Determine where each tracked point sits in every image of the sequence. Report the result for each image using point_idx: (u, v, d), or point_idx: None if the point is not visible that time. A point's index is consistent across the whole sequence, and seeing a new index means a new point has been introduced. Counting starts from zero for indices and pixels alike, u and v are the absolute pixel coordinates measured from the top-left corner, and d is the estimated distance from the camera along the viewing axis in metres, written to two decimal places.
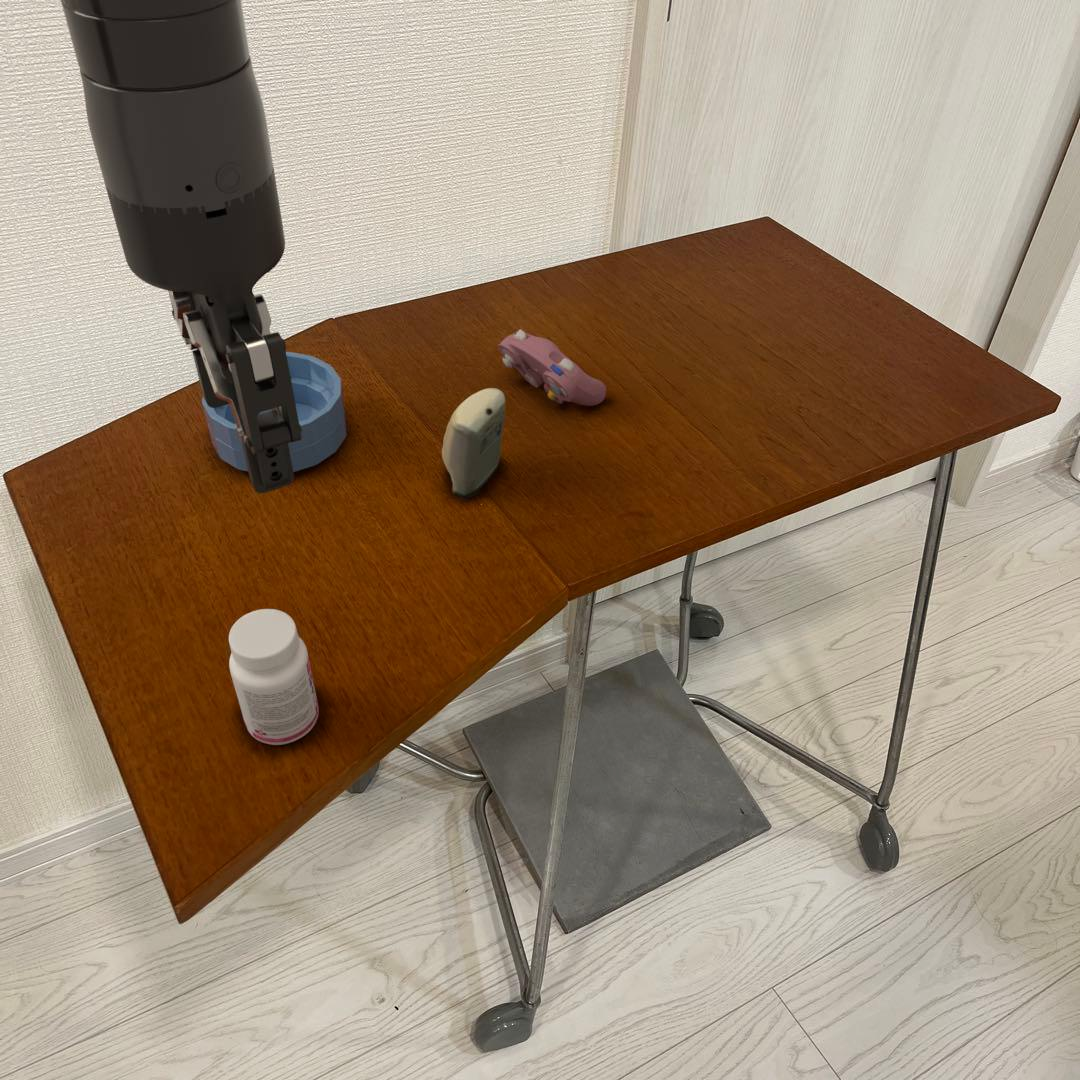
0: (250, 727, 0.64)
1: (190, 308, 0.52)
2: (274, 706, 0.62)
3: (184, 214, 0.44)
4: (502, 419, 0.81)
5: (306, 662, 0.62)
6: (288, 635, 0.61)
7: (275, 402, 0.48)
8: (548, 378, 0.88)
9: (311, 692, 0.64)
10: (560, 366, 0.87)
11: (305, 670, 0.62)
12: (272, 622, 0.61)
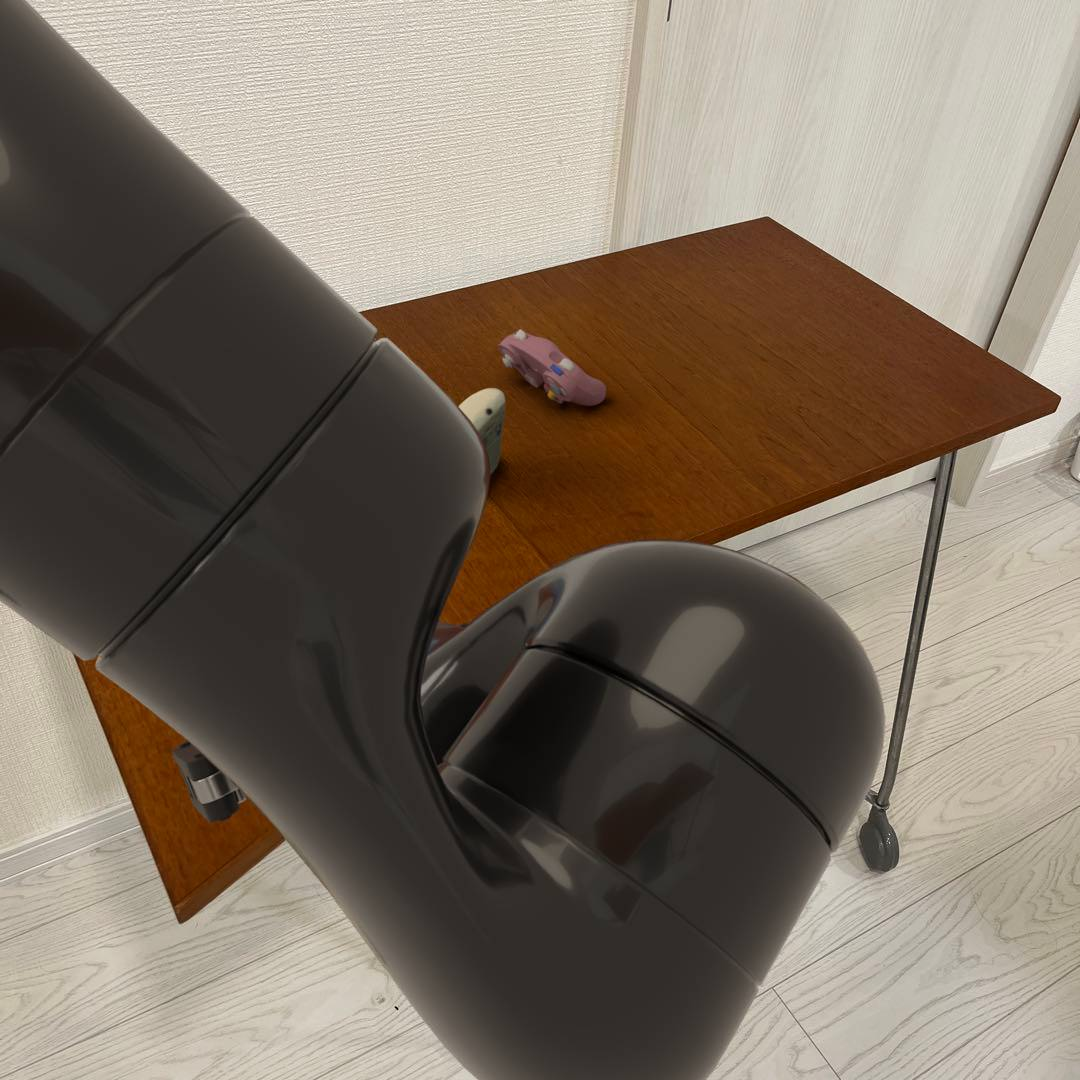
0: None
1: None
2: None
3: None
4: (502, 419, 0.81)
5: None
6: None
7: (191, 791, 0.40)
8: (548, 378, 0.88)
9: None
10: (560, 366, 0.87)
11: None
12: None
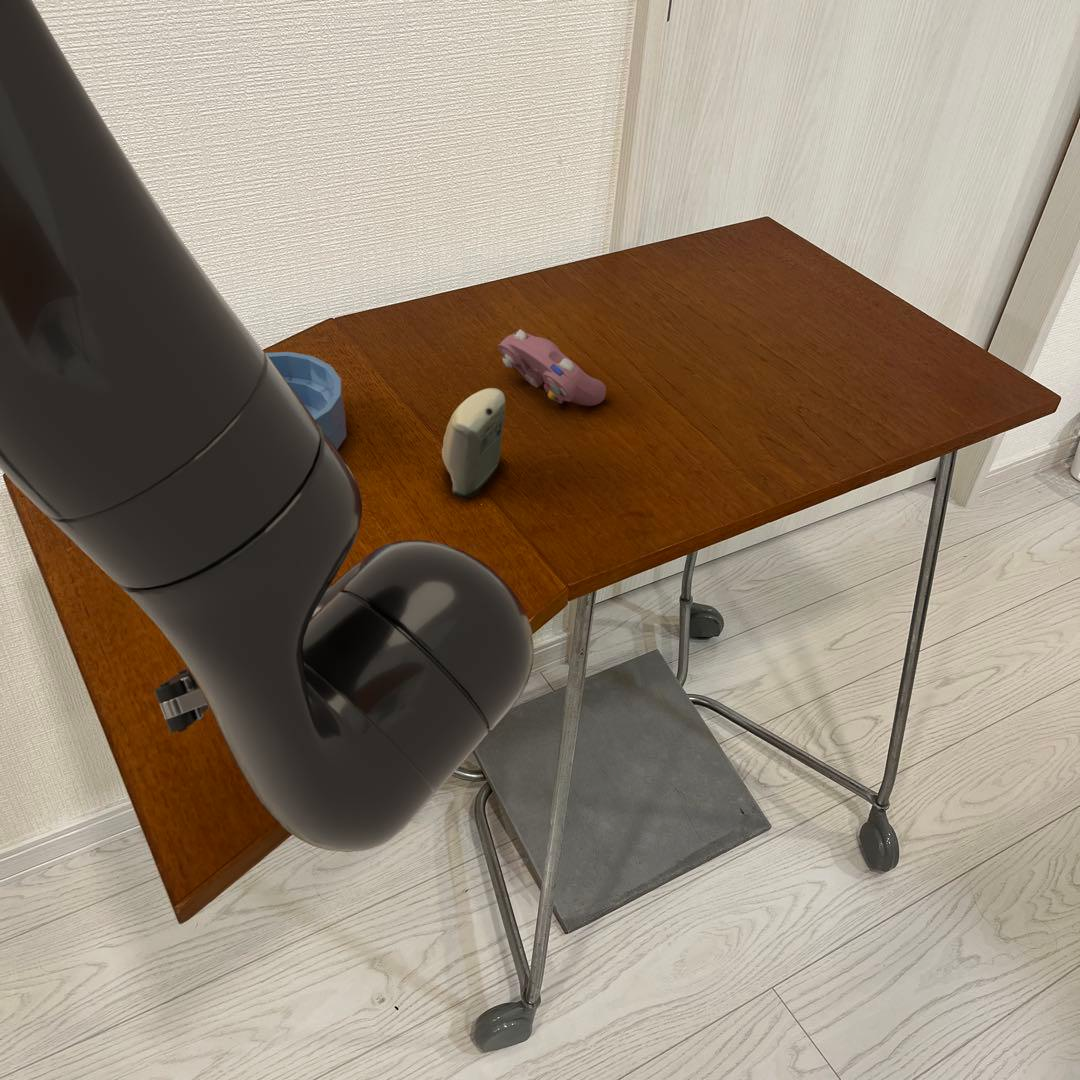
0: None
1: None
2: None
3: None
4: (502, 419, 0.81)
5: None
6: None
7: None
8: (548, 378, 0.88)
9: None
10: (560, 366, 0.87)
11: None
12: None
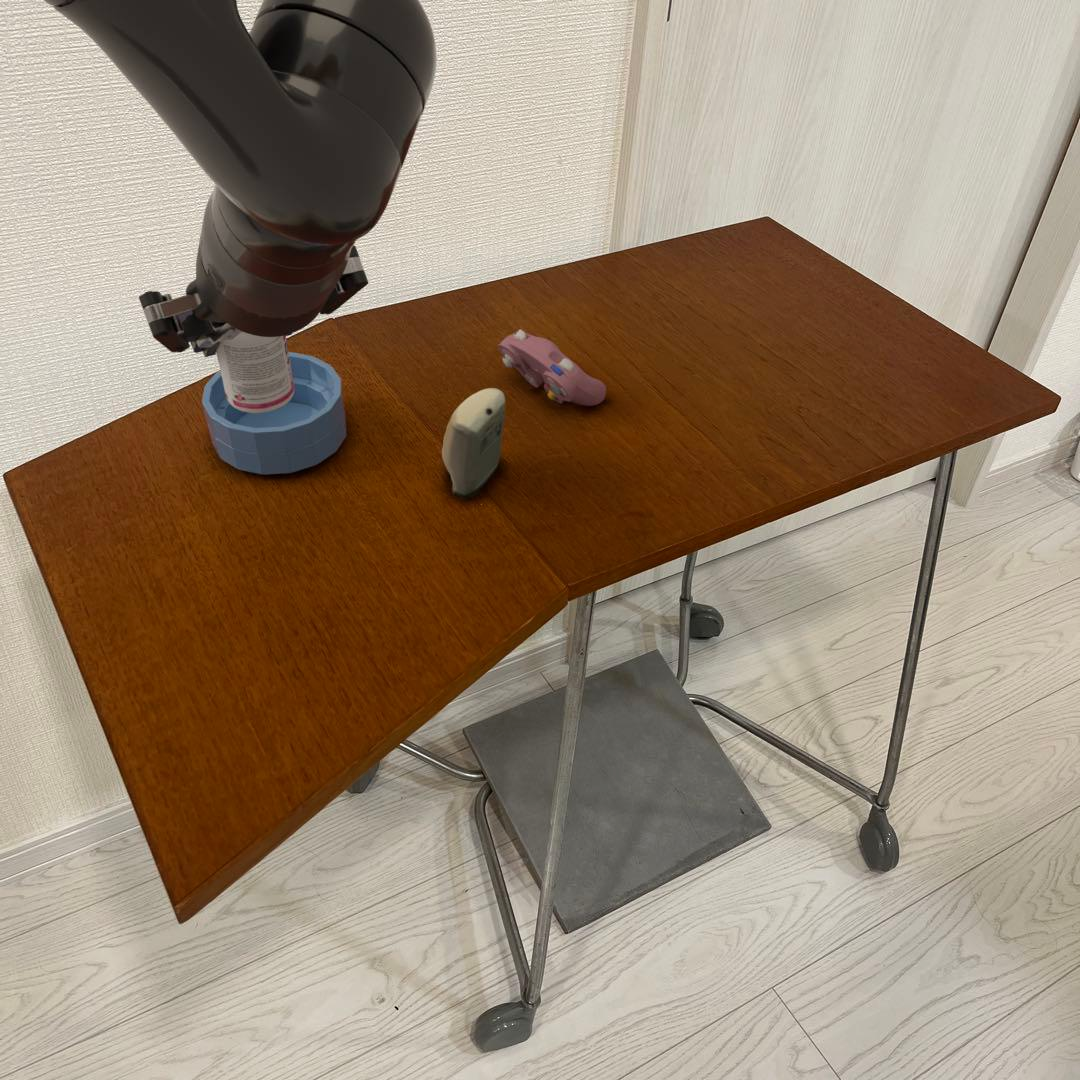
0: (230, 394, 0.70)
1: None
2: (252, 363, 0.67)
3: None
4: (502, 419, 0.81)
5: None
6: None
7: None
8: (548, 378, 0.88)
9: (286, 361, 0.70)
10: (560, 366, 0.87)
11: None
12: None
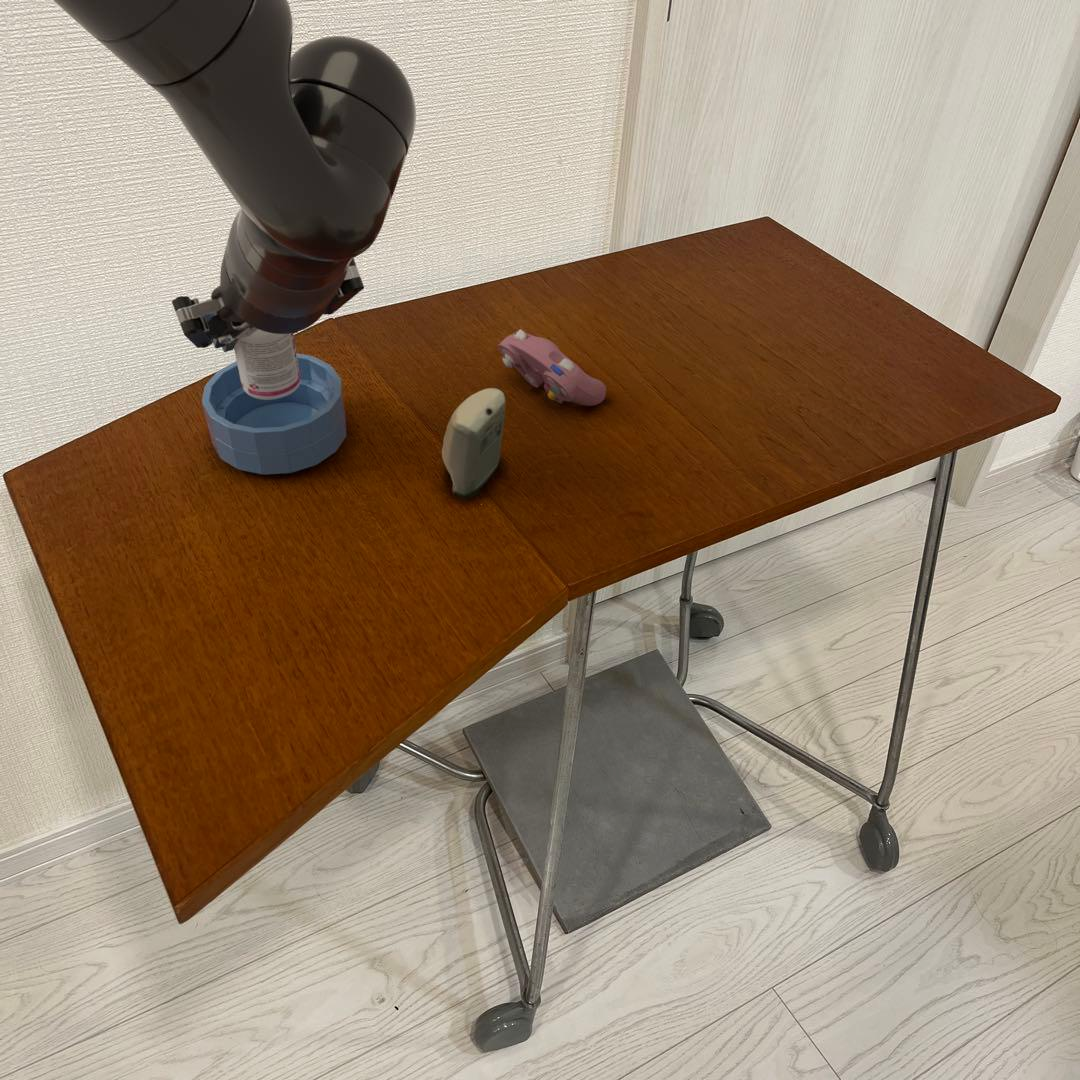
0: (246, 384, 0.81)
1: None
2: (265, 357, 0.79)
3: (225, 256, 0.65)
4: (502, 419, 0.81)
5: None
6: None
7: None
8: (548, 378, 0.88)
9: (294, 355, 0.81)
10: (560, 366, 0.87)
11: None
12: None
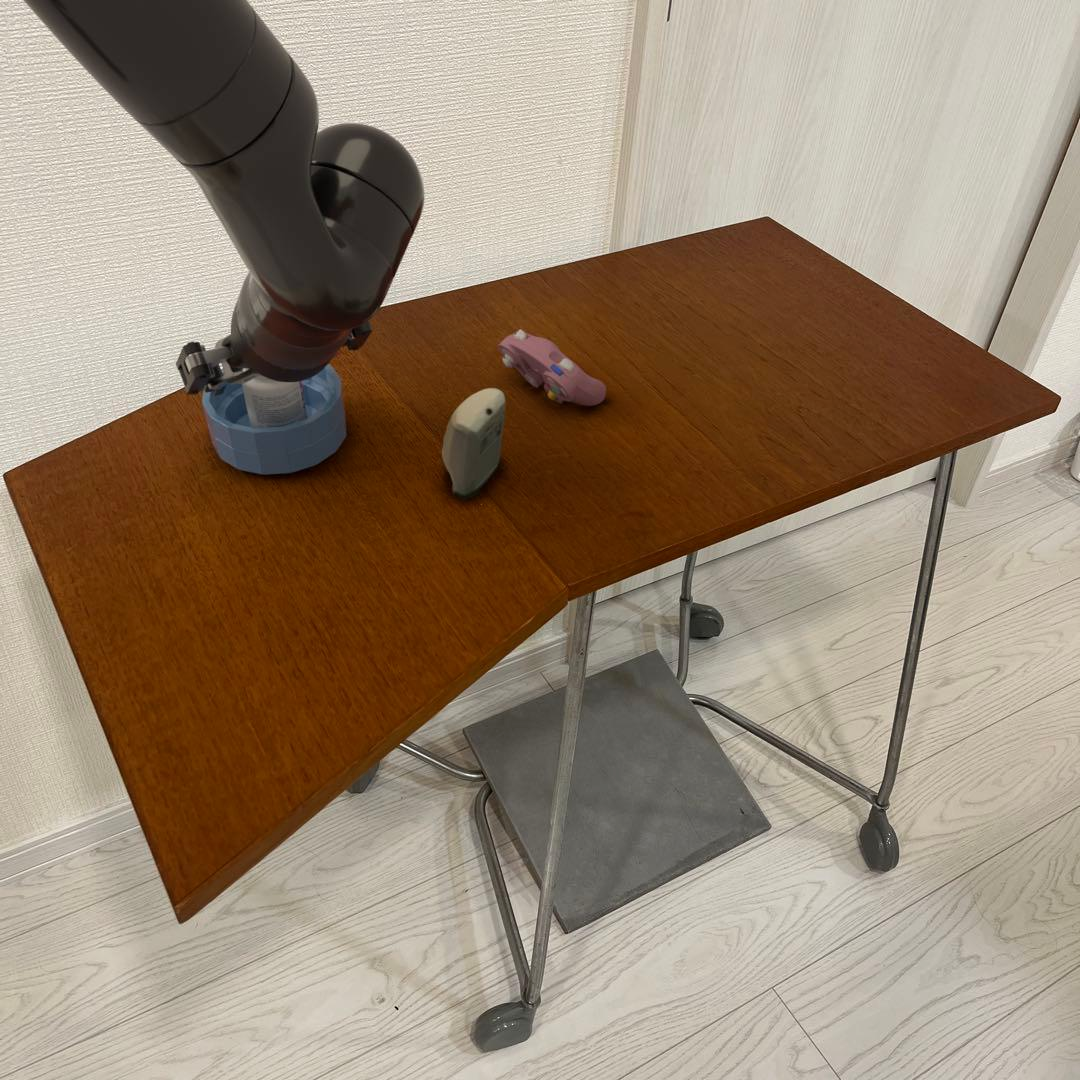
0: None
1: None
2: (275, 409, 0.82)
3: (236, 311, 0.68)
4: (502, 419, 0.81)
5: None
6: None
7: (185, 375, 0.74)
8: (548, 378, 0.88)
9: (303, 406, 0.84)
10: (560, 366, 0.87)
11: (298, 383, 0.83)
12: None
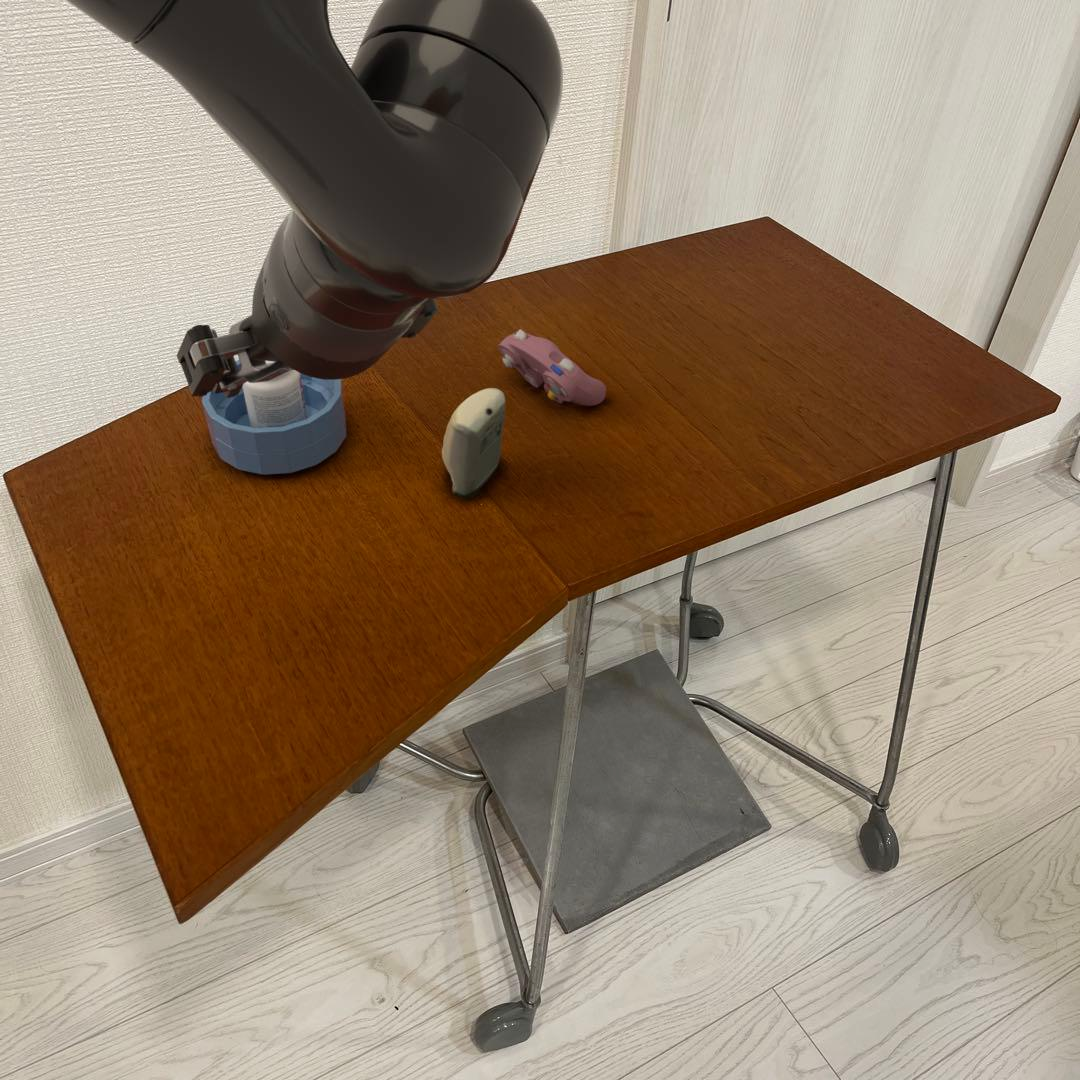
0: None
1: None
2: (275, 409, 0.82)
3: (262, 280, 0.49)
4: (502, 419, 0.81)
5: (299, 377, 0.83)
6: None
7: (190, 370, 0.55)
8: (548, 378, 0.88)
9: (303, 406, 0.84)
10: (560, 366, 0.87)
11: (298, 383, 0.83)
12: None
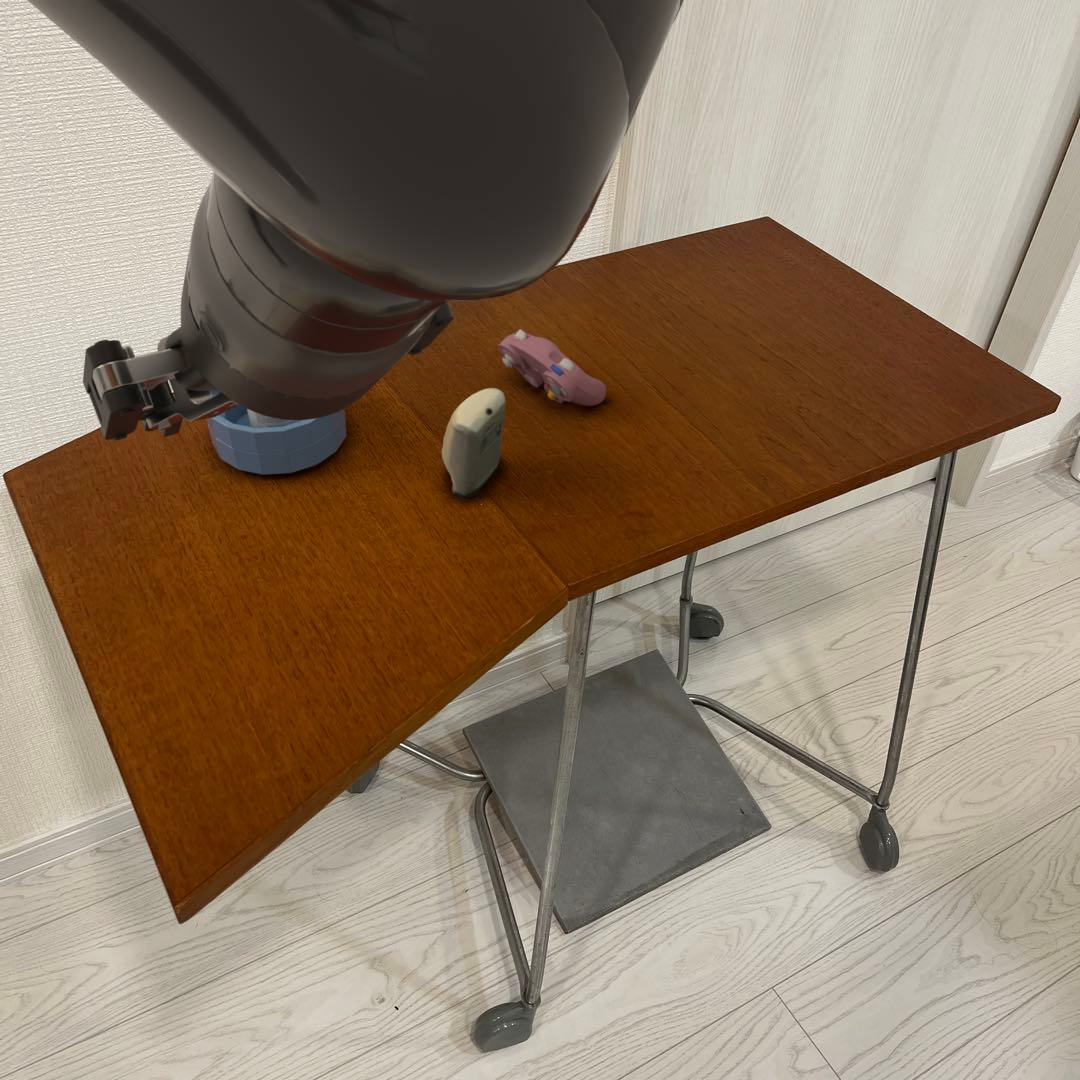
0: None
1: None
2: None
3: (186, 274, 0.32)
4: (502, 419, 0.81)
5: None
6: None
7: (97, 405, 0.38)
8: (548, 378, 0.88)
9: None
10: (560, 366, 0.87)
11: None
12: None
